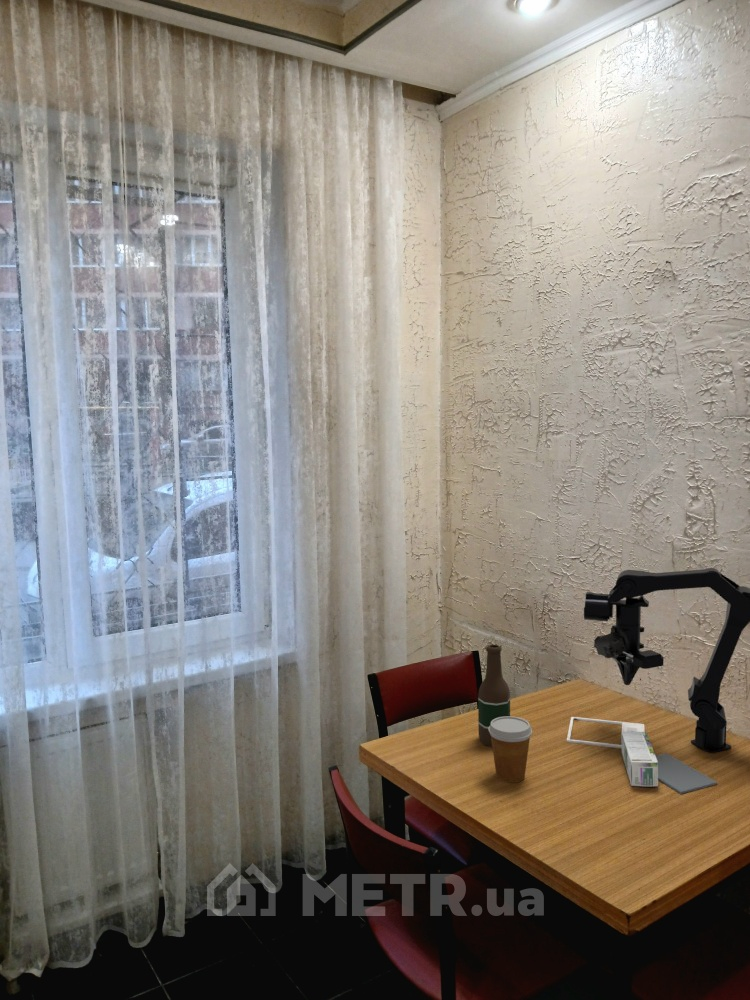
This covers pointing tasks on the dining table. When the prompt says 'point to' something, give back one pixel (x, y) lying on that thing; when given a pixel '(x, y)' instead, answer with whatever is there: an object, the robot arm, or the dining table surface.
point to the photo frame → (625, 725)
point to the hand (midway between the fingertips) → (627, 684)
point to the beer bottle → (492, 694)
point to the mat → (681, 775)
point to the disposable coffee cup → (510, 747)
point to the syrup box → (639, 759)
